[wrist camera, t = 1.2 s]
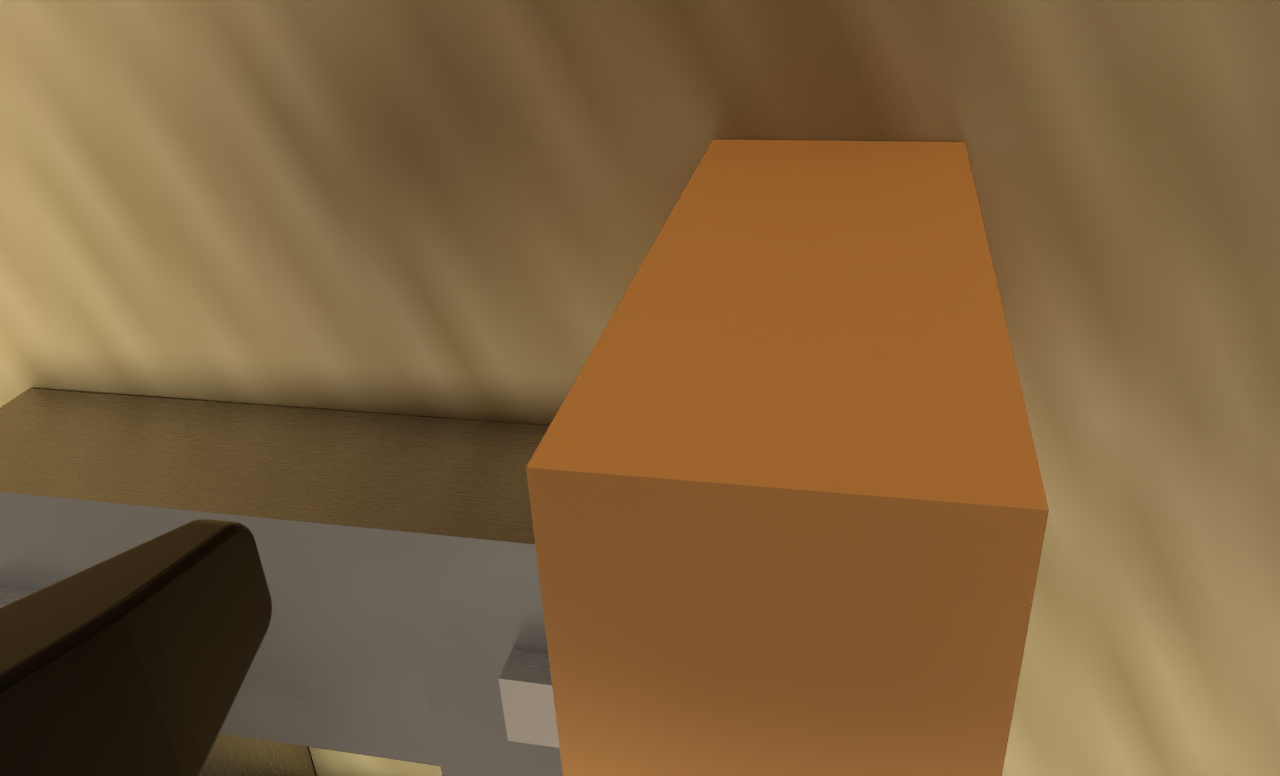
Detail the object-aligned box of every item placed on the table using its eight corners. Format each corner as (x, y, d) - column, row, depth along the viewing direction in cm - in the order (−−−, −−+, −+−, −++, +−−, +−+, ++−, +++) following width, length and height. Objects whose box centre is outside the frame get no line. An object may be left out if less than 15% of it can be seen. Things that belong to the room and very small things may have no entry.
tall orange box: (965, 142, 13) (1048, 509, 6) (941, 368, 14) (984, 867, 7) (712, 139, 13) (525, 466, 7) (716, 355, 15) (566, 803, 8)
